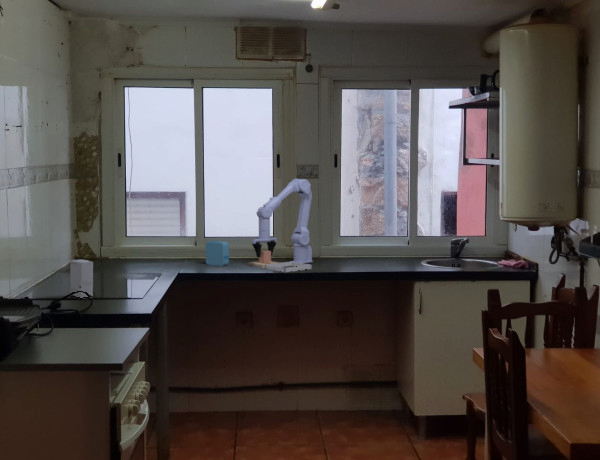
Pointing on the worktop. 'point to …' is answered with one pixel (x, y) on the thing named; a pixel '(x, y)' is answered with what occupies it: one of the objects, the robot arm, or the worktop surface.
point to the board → (260, 264)
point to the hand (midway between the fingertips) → (264, 256)
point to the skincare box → (81, 277)
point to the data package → (217, 253)
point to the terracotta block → (265, 257)
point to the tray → (279, 267)
